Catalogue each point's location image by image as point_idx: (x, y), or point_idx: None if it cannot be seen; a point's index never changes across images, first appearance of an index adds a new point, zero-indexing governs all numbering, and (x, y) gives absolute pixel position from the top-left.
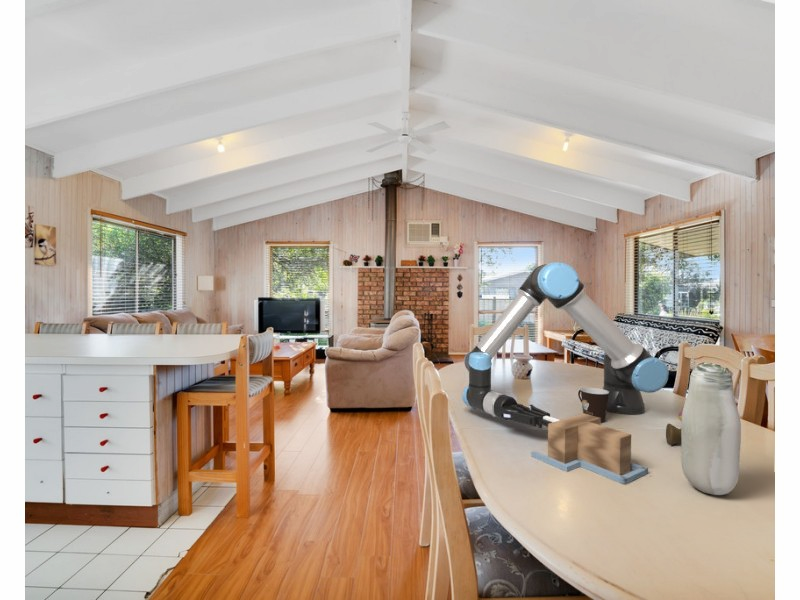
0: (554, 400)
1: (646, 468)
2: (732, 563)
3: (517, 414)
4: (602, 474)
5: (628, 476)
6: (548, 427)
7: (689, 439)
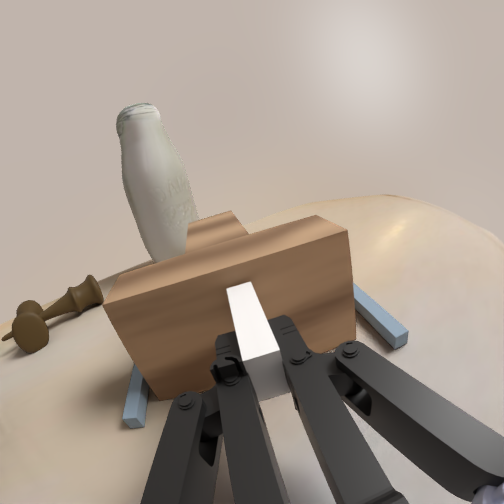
0: None
1: None
2: (293, 211)
3: (460, 413)
4: None
5: None
6: (348, 244)
7: (186, 189)
